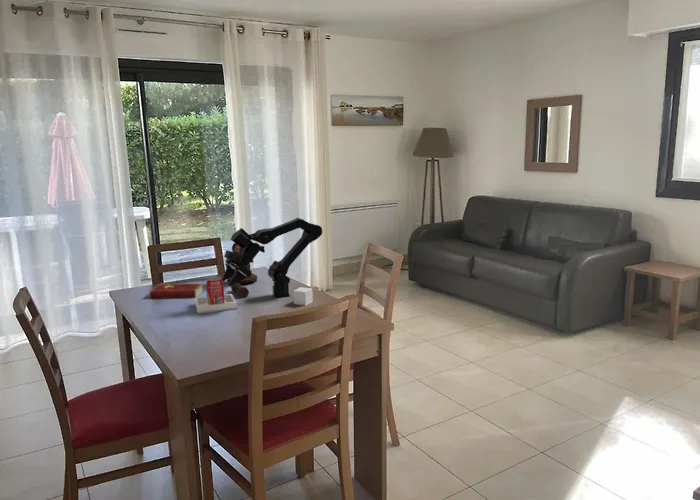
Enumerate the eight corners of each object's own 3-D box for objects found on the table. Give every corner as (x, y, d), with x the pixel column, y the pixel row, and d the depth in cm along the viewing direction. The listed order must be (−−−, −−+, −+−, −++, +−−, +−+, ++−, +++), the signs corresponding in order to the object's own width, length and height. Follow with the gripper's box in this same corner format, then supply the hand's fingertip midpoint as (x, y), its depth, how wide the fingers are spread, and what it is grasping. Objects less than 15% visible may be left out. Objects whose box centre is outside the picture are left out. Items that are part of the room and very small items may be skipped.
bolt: (236, 294, 253) (245, 300, 240) (226, 290, 251) (235, 297, 238) (241, 283, 254) (250, 289, 241) (231, 279, 251) (241, 285, 238)
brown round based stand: (263, 281, 268) (261, 242, 264) (238, 287, 257) (236, 247, 253) (246, 277, 278) (243, 239, 274) (221, 282, 267) (219, 243, 263)
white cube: (312, 301, 232) (312, 288, 231) (305, 305, 227) (305, 292, 226) (301, 300, 235) (300, 287, 234) (293, 304, 229) (293, 290, 228)
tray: (232, 300, 237) (231, 293, 236) (237, 309, 224) (236, 302, 223) (194, 304, 231) (194, 298, 230) (198, 314, 218) (197, 307, 217)
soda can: (214, 302, 231) (212, 275, 229) (228, 304, 228) (226, 276, 226) (204, 307, 225) (202, 279, 222) (217, 308, 222) (215, 281, 220)
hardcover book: (195, 298, 242) (195, 289, 241) (150, 299, 243) (149, 290, 242) (203, 291, 254) (202, 282, 253) (159, 292, 254) (159, 283, 253)
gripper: (227, 240, 235) (205, 268, 232) (242, 246, 219) (218, 276, 216) (246, 255, 241) (224, 282, 237) (261, 262, 225) (238, 291, 222)
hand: (225, 283), depth 228 cm, fingers open, 9 cm apart
